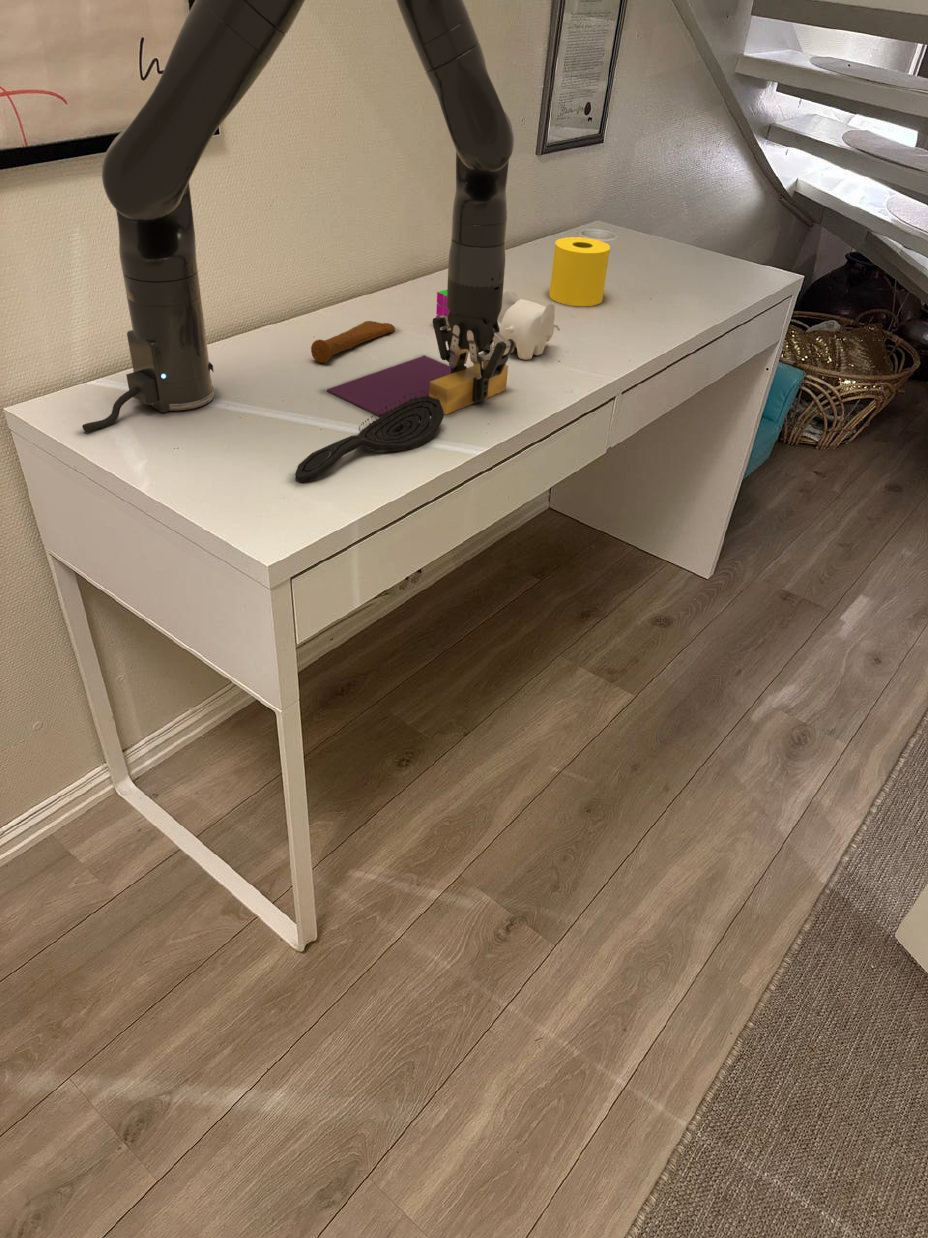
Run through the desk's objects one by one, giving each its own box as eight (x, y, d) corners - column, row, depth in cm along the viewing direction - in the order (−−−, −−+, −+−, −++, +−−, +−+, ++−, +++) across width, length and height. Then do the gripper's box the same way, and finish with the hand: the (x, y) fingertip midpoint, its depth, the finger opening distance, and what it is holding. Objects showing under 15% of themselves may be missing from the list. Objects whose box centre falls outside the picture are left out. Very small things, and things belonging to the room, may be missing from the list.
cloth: (378, 416, 124) (378, 414, 124) (326, 391, 129) (326, 389, 129) (475, 378, 136) (475, 377, 136) (424, 357, 141) (424, 355, 141)
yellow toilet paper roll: (605, 292, 172) (613, 241, 166) (598, 309, 164) (606, 255, 158) (554, 285, 173) (559, 234, 167) (545, 301, 165) (550, 248, 160)
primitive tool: (368, 323, 152) (368, 302, 149) (397, 329, 150) (397, 308, 148) (308, 361, 138) (307, 339, 135) (339, 369, 136) (338, 346, 134)
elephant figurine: (571, 349, 147) (578, 295, 142) (525, 368, 140) (531, 311, 135) (526, 333, 152) (531, 280, 147) (479, 350, 145) (483, 295, 139)
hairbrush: (272, 449, 109) (412, 382, 123) (276, 475, 111) (412, 406, 126) (319, 473, 105) (458, 401, 120) (322, 500, 107) (457, 426, 122)
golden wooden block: (445, 414, 125) (447, 389, 123) (428, 406, 127) (429, 381, 125) (506, 390, 133) (508, 365, 131) (489, 382, 135) (491, 358, 133)
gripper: (418, 267, 121) (416, 387, 131) (497, 294, 114) (487, 420, 124) (456, 257, 125) (451, 374, 136) (534, 283, 118) (522, 405, 129)
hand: (468, 395), depth 130 cm, fingers closed on golden wooden block, 3 cm apart
